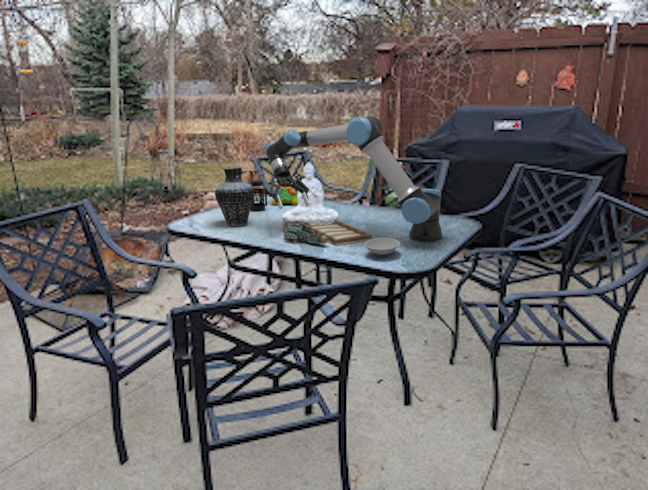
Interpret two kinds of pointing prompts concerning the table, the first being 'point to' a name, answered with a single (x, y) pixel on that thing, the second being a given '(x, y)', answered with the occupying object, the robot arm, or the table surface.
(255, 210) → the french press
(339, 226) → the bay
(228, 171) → the jug
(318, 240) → the hoverbike
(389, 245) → the dish
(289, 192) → the turtle toy
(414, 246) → the table surface
